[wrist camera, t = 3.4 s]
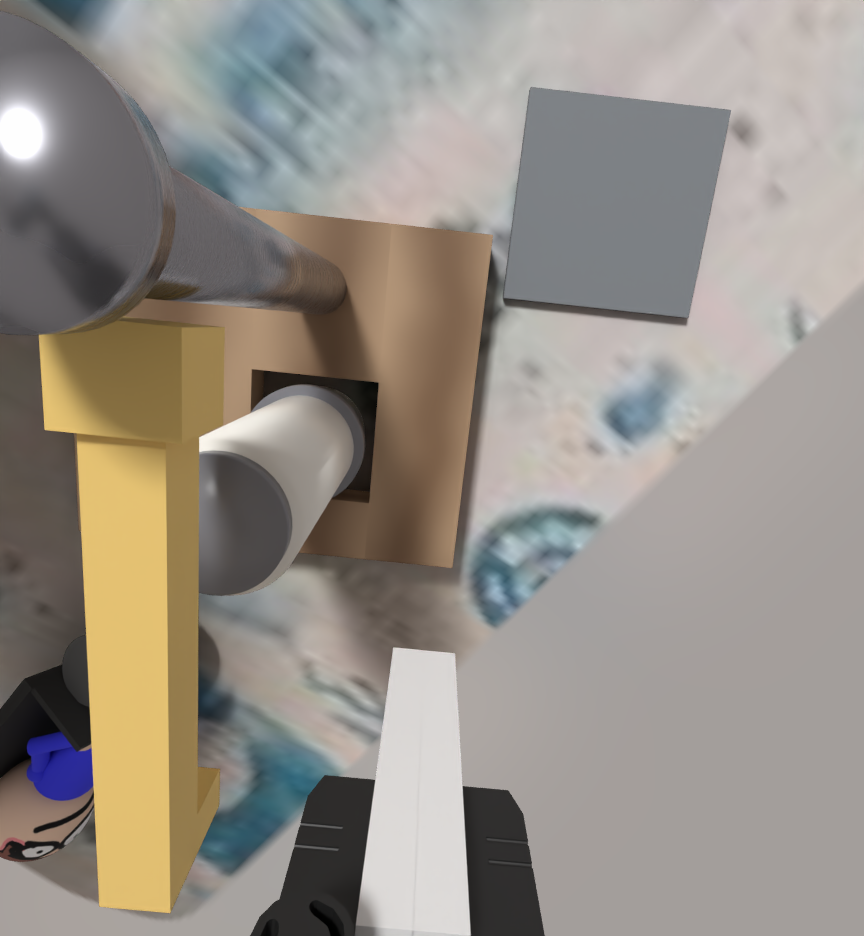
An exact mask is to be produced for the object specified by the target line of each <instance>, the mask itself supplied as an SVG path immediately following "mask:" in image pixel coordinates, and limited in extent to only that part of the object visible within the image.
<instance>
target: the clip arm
mask: <svg viewBox="0 0 864 936" xmlns="http://www.w3.org/2000/svg"><path fill="white" fill-rule="evenodd" d="M224 344H225V327H218V326H208V325H199V324H190V323H180V322H171V321H161V320H152V319H143V318H133V317H124V316H123V317H121V318H120V319H118V320H116V321H115V322H113V323H111V324H108V325H106V326H103V327H101V328H98V329H94V330H90V331H86V332H82V333H72V334H49V335H39V347H40V363H41V380H42V396H43V412H44V428H45V430H50V431H60V432H69V433H77V454H78V475H79V495H80V516H81V537H82V558H83V578H84V599H85V620H86V640H87V661H88V682H89V703H90V723H91V744H92V765H93V786H94V806H95V827H96V848H97V868H98V889H99V907H107V908H119V909H130V910H141V911H152V912H163V913H171V910H172V908H173V906H174V904H175V902H176V899H177V897H178V895H179V893H180V891H181V888H182V886H183V884H184V882H185V880H186V877H187V875H188V873H189V871H190V868H191V866H192V864H193V862H194V860H195V857H196V855H197V853H198V851H199V849H200V846H201V844H202V842H203V840H204V838H205V835H206V833H207V831H208V829H209V827H210V824H211V822H212V820H213V818H214V816H215V813H216V811H217V809H218V807H219V790H220V769H215V768H204V767H198V599H199V436H200V435H203V434H205V433H207V432H209V431H211V430H213V429H215V428H218V427H220V426H222V425H223V410H224Z"/></svg>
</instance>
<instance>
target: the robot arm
mask: <svg viewBox="0 0 864 936" xmlns="http://www.w3.org/2000/svg"><path fill="white" fill-rule="evenodd" d="M531 864H532V862H531V856H530V850H529V846H528V839H527V833H526V828H525V822H524V816H523V813H522V811H521V810H520V808H519V807H518V805H517V803H516V802H515V800H514V799H513V797H512V795H511V794H510V793H509V791H508V790H498V789H487V788H476V787H465V786H462V769H461V751H460V734H459V715H458V698H457V679H456V661H455V653H446V652H436V651H426V650H416V649H405V648H395V647H393V654H392V661H391V668H390V676H389V683H388V691H387V698H386V705H385V713H384V720H383V727H382V735H381V742H380V750H379V757H378V765H377V772H376V779H375V780H371V779H358V778H349V777H338V776H327V775H325V776H324V777H323V778H322V779H321V780H320V782H319V783H318V784H317V785H316V787H315V788H314V789H313V790H312V792H311V793H310V794H309V795H308V798H307V801H306V805H305V808H304V812H303V816H302V819H301V825H300V827H299V830H298V834H297V838H296V841H295V847H294V849H293V852H292V856H291V860H290V863H289V867H288V871H287V874H286V878H285V882H284V886H283V889H282V892H281V896H280V899H279V900H278V901H276V902H274V903H273V904H272V905H271V906H270V907H269V908H268V910H266V911H265V912H264V913H263V914H262V915H261V916H260V917H259V920H258V921H257V923H256V925H255V927H254V930H253V932H252V933H251V935H250V936H545V935H544V930H543V924H542V918H541V913H540V907H539V901H538V896H537V890H536V884H535V879H534V873H533V869H532V865H531Z"/></svg>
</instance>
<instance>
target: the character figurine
mask: <svg viewBox="0 0 864 936" xmlns="http://www.w3.org/2000/svg"><path fill="white" fill-rule="evenodd" d="M198 649H199V647H198ZM1 777H2V778H1ZM0 778H1V779H0V857H2V858H4V859H7V860H10V861H17V862H26V861H33V860H38V859H41V858H44V857H47V856H49V855H51V854H53V853H55V852H57V851H59V850H60V849H62V848H63V847H64V846H66V845H67V844H68V843H70V842H71V841H72V840H73V839H74V838H75V837H76V836H77V835H78V834H79V833H80V832H81V830H82V829H83V828H84V826H85V825H86V823H87V822H88V820H89V818H90V816H91V814H92V812H93V809H94V786H93V765H92V744H91V723H90V703H89V682H88V661H87V640H86V635H84V636H81V637H79V638H77V639H75V640H74V641H73V642H72V643H71V644H70V645H69V646H68V648H67V650H66V652H65V654H64V658H63V663H62V665H60V666H57V667H55V668H52V669H49V670H47V671H44V672H41V673H39V674H36V675H33V676H31V677H28V678H25V679H24V680H23V681H22V682H21V684H20V685H19V686H18V687H17V689H16V690H15V691H14V692H13V694H12V695H11V696H10V698H9V699H8V700H7V701H6V703H5V704H4V705H3V706H2V708H1V709H0Z"/></svg>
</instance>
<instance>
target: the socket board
mask: <svg viewBox="0 0 864 936" xmlns="http://www.w3.org/2000/svg"><path fill="white" fill-rule="evenodd" d="M239 208H241V209H243V210H244V211H246V212H248V213H249V214H251V215H253V216H254V217H256V218H258V219H259V220H261V221H263V222H264V223H266V224H268V225H270V226H271V227H273V228H275V229H276V230H278V231H280V232H281V233H283V234H285V235H286V236H288V237H290V238H291V239H293V240H295V241H296V242H298V243H300V244H301V245H303V246H305V247H306V248H308V249H310V250H311V251H313V252H315V253H316V254H318V255H320V256H321V257H323V258H325V259H326V260H328V261H330V262H331V263H333V264H335V265H336V266H337V267H338V268H339V269H340V270H341V272H342V273H343V275H344V277H345V280H346V286H347V291H346V296H345V299H344V301H343V303H342V304H341V306H340V307H339V308H338V309H336V310H335V311H333V312H331V313H329V314H324V315H319V314H308V313H297V312H286V311H275V310H264V309H254V308H243V307H232V306H221V305H210V304H200V303H189V302H178V301H167V300H156V299H146V298H144V299H143V300H142V301H141V302H140V304H139V305H137V306H136V307H135V308H134V309H133V310H131V311H130V312H129V313H128V314H126V315H125V316H124V317H133V318H143V319H152V320H161V321H171V322H180V323H190V324H199V325H208V326H218V327H225V344H224V410H223V425H222V426H224V425H227V424H229V423H231V422H233V421H235V420H237V419H239V418H241V417H244V416H246V415H248V414H250V413H251V411H252V410H253V409H254V408H255V406H256V405H257V404H258V403H259V402H260V401H261V400H262V399H263V388H264V370H265V371H275V372H284V373H294V374H303V375H313V376H322V377H332V378H341V379H351V380H360V381H370V382H379V388H378V400H377V412H376V425H375V437H374V449H373V462H372V474H371V486H370V492H369V491H359V490H350V489H344V490H343V491H342V492H341V493H339V494H338V495H336V496H335V497H333V498H331V500H330V501H329V503H328V505H327V506H326V508H325V510H324V511H323V513H322V515H321V516H320V518H319V519H318V521H317V523H316V524H315V526H314V528H313V529H312V531H311V533H310V534H309V536H308V537H307V539H306V541H305V542H304V544H303V546H302V547H301V549H300V551H299V552H298V553H307V554H317V555H327V556H337V557H347V558H357V559H367V560H377V561H387V562H397V563H407V564H417V565H427V566H437V567H447V568H452V567H453V559H454V550H455V542H456V534H457V526H458V517H459V509H460V501H461V493H462V485H463V476H464V468H465V460H466V452H467V444H468V435H469V427H470V419H471V411H472V402H473V394H474V386H475V378H476V370H477V361H478V353H479V345H480V337H481V328H482V320H483V312H484V304H485V296H486V287H487V279H488V271H489V263H490V255H491V246H492V238H493V235H488V234H479V233H470V232H461V231H452V230H443V229H433V228H424V227H415V226H406V225H397V224H388V223H379V222H370V221H361V220H352V219H343V218H334V217H325V216H316V215H307V214H297V213H288V212H279V211H270V210H261V209H252V208H243V207H239ZM222 426H220V427H222ZM220 427H218V428H220ZM218 428H215V429H213V430H211V431H209V432H207V433H205V434H208V433H210V432H212V431H214V430H216V429H218ZM205 434H203V435H205ZM203 435H200V436H199V437H201V436H203ZM74 446H75V466H76V486H77V506H78V527H79V531H81V516H80V495H79V475H78V454H77V433H74Z"/></svg>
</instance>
